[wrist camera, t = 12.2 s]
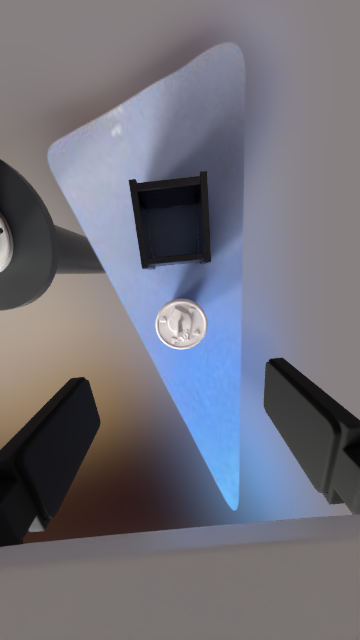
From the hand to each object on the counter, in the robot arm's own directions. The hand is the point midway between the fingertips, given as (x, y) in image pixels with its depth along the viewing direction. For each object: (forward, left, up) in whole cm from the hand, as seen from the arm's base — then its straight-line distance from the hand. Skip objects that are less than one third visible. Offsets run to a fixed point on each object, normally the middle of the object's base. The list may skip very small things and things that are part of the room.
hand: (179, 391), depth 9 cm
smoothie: (0, 0, -22) cm, 22 cm away
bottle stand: (0, +12, -21) cm, 24 cm away
